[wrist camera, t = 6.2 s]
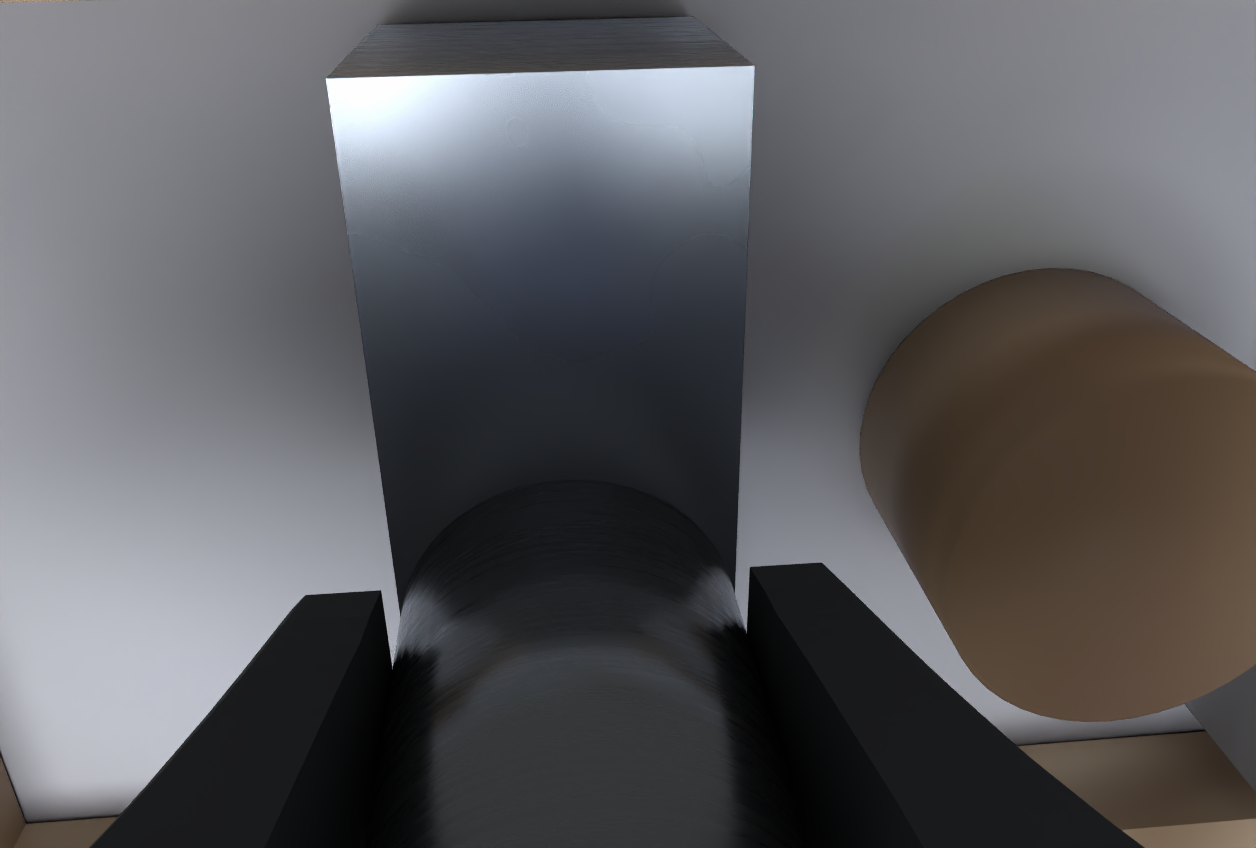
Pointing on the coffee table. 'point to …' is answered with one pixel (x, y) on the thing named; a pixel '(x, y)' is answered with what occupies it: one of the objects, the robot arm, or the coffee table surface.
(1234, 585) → the brown wooden cylinder
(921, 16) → the coffee table surface
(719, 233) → the block
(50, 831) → the vise frame
